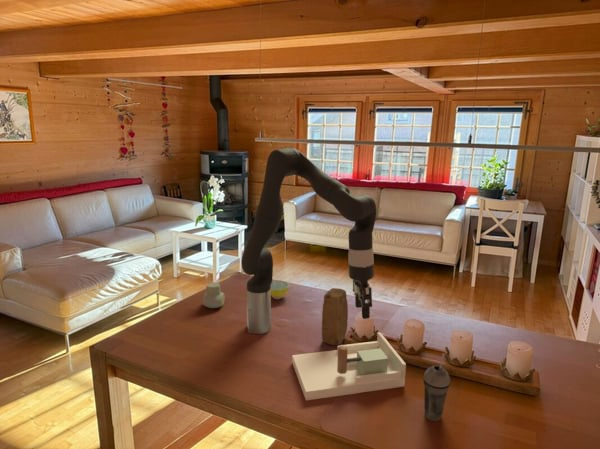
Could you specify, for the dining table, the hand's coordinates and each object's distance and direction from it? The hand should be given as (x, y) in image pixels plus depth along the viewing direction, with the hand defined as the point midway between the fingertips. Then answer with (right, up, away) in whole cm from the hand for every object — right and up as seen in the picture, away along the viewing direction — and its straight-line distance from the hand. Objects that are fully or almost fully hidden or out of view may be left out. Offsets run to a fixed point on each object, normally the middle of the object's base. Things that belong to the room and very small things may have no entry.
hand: (362, 312), depth 130 cm
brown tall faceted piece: (-6, -17, +31) cm, 35 cm away
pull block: (0, -20, +5) cm, 21 cm away
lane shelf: (-4, -22, +9) cm, 24 cm away
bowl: (-30, -7, +67) cm, 74 cm away
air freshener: (-58, -9, +58) cm, 82 cm away
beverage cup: (+19, -28, -9) cm, 35 cm away
